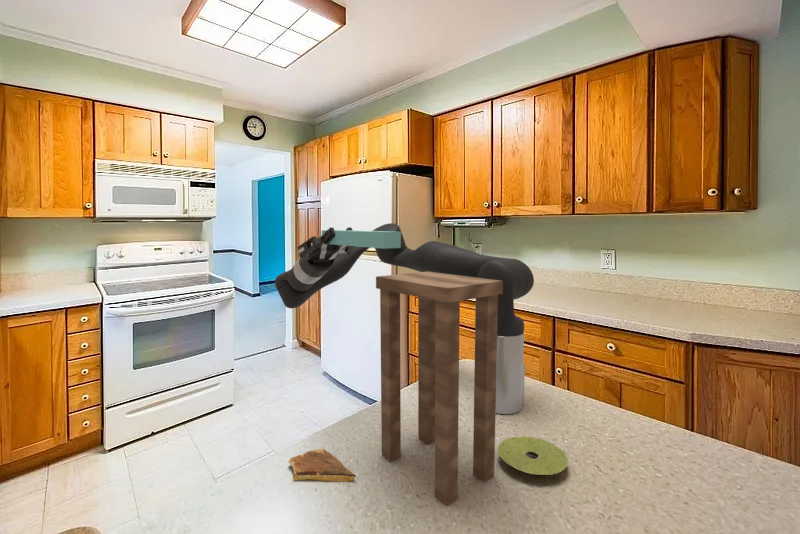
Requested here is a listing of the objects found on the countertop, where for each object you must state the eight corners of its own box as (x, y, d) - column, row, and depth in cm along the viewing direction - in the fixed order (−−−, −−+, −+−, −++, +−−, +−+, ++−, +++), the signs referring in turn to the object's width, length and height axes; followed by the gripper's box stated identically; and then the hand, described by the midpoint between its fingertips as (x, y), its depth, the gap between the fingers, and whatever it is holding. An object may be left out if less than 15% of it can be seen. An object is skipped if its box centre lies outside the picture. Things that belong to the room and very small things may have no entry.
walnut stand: (427, 433, 76) (428, 271, 73) (498, 476, 63) (502, 280, 60) (377, 455, 69) (375, 276, 66) (446, 509, 55) (447, 288, 52)
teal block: (337, 243, 91) (337, 230, 91) (400, 247, 72) (400, 231, 72) (321, 243, 89) (321, 230, 88) (383, 248, 70) (383, 231, 70)
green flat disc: (490, 446, 71) (490, 436, 71) (550, 445, 72) (551, 435, 72) (508, 486, 60) (509, 474, 60) (580, 485, 61) (580, 473, 60)
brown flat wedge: (356, 484, 62) (356, 473, 62) (312, 506, 57) (312, 495, 57) (323, 454, 70) (323, 444, 70) (282, 471, 65) (282, 461, 65)
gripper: (282, 252, 94) (308, 215, 82) (334, 250, 103) (364, 216, 90) (289, 280, 92) (317, 247, 79) (341, 275, 101) (374, 245, 88)
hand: (342, 231), depth 85 cm, fingers closed on teal block, 4 cm apart
